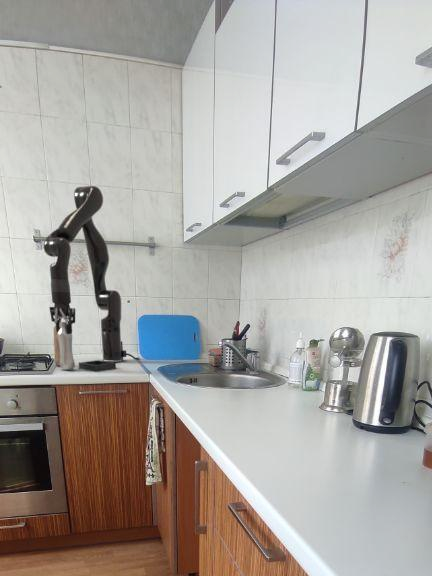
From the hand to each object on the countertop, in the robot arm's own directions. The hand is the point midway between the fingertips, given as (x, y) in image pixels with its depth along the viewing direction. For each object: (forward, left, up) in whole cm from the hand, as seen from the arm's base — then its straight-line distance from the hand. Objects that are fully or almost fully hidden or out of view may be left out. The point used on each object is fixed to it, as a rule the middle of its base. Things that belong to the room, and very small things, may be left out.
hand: (64, 333), depth 200 cm
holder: (-12, +6, -16) cm, 21 cm away
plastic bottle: (0, 0, -16) cm, 16 cm away
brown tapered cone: (-7, -12, -6) cm, 15 cm away
